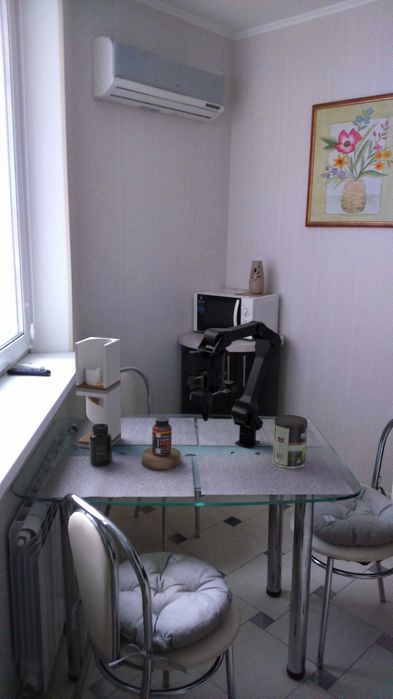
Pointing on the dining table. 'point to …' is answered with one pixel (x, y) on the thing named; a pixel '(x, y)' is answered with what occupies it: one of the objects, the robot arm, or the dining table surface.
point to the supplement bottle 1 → (100, 445)
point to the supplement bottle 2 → (161, 437)
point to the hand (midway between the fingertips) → (213, 417)
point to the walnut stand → (161, 460)
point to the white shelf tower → (100, 383)
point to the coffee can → (289, 441)
